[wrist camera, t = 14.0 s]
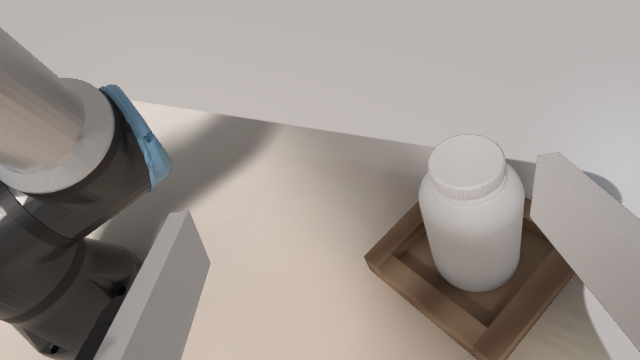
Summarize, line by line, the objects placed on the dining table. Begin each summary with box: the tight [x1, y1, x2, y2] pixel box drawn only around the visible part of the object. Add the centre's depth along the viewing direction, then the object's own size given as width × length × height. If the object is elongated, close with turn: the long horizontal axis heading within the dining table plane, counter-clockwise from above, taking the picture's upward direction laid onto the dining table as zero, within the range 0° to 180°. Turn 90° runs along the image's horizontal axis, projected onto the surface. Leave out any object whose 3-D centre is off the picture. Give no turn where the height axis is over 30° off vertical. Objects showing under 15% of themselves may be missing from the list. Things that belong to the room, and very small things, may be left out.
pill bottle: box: [419, 134, 525, 292], centre depth 34 cm, size 8×8×15 cm
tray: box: [364, 198, 575, 360], centre depth 39 cm, size 15×15×3 cm
